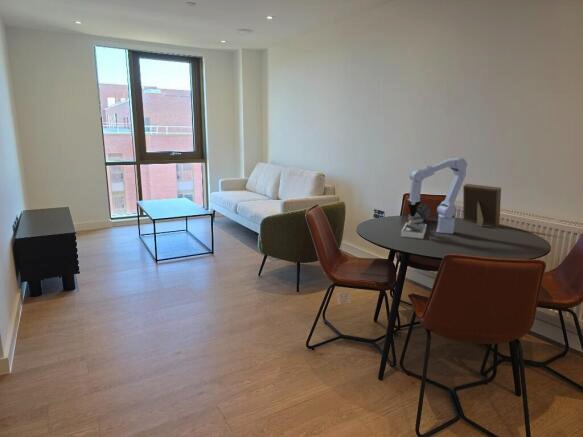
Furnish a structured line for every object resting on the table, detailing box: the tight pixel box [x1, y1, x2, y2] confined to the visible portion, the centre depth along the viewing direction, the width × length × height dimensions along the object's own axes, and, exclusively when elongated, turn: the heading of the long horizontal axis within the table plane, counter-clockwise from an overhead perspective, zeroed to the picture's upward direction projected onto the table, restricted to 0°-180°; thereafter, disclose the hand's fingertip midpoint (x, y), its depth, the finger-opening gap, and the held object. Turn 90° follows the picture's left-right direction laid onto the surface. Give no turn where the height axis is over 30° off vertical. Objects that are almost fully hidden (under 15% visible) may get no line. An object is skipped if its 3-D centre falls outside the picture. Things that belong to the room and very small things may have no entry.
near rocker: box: [406, 220, 422, 232], centre depth 227 cm, size 8×9×2 cm
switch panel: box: [400, 221, 427, 240], centre depth 233 cm, size 12×24×4 cm, turn 158°
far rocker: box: [409, 219, 424, 225], centre depth 237 cm, size 8×9×2 cm
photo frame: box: [462, 183, 502, 228], centre depth 256 cm, size 15×22×25 cm
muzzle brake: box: [407, 204, 431, 222], centre depth 258 cm, size 10×28×10 cm, turn 151°
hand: (413, 214), depth 231 cm, fingers open, 7 cm apart
